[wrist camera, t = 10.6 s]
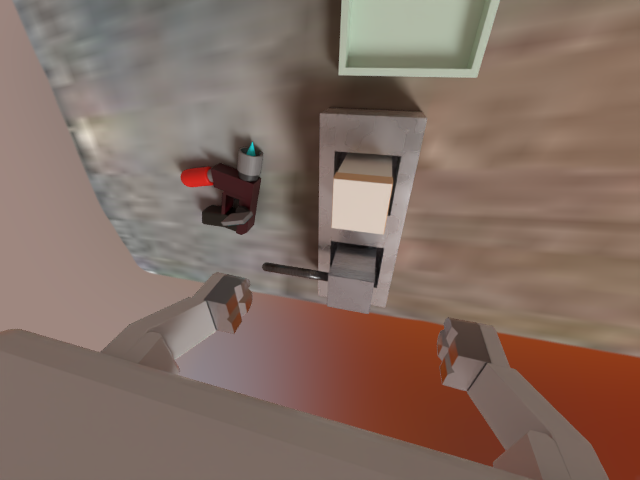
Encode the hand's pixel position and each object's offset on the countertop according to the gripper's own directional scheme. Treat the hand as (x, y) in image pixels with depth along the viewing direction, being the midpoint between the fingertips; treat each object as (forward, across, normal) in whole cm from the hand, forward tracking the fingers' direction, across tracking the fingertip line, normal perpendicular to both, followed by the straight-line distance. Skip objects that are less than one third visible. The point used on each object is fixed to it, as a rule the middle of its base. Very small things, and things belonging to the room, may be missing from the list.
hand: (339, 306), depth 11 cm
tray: (+18, -1, -12) cm, 22 cm away
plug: (+18, 0, 0) cm, 18 cm away
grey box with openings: (+18, +3, +5) cm, 19 cm away
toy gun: (+18, +17, +3) cm, 25 cm away
